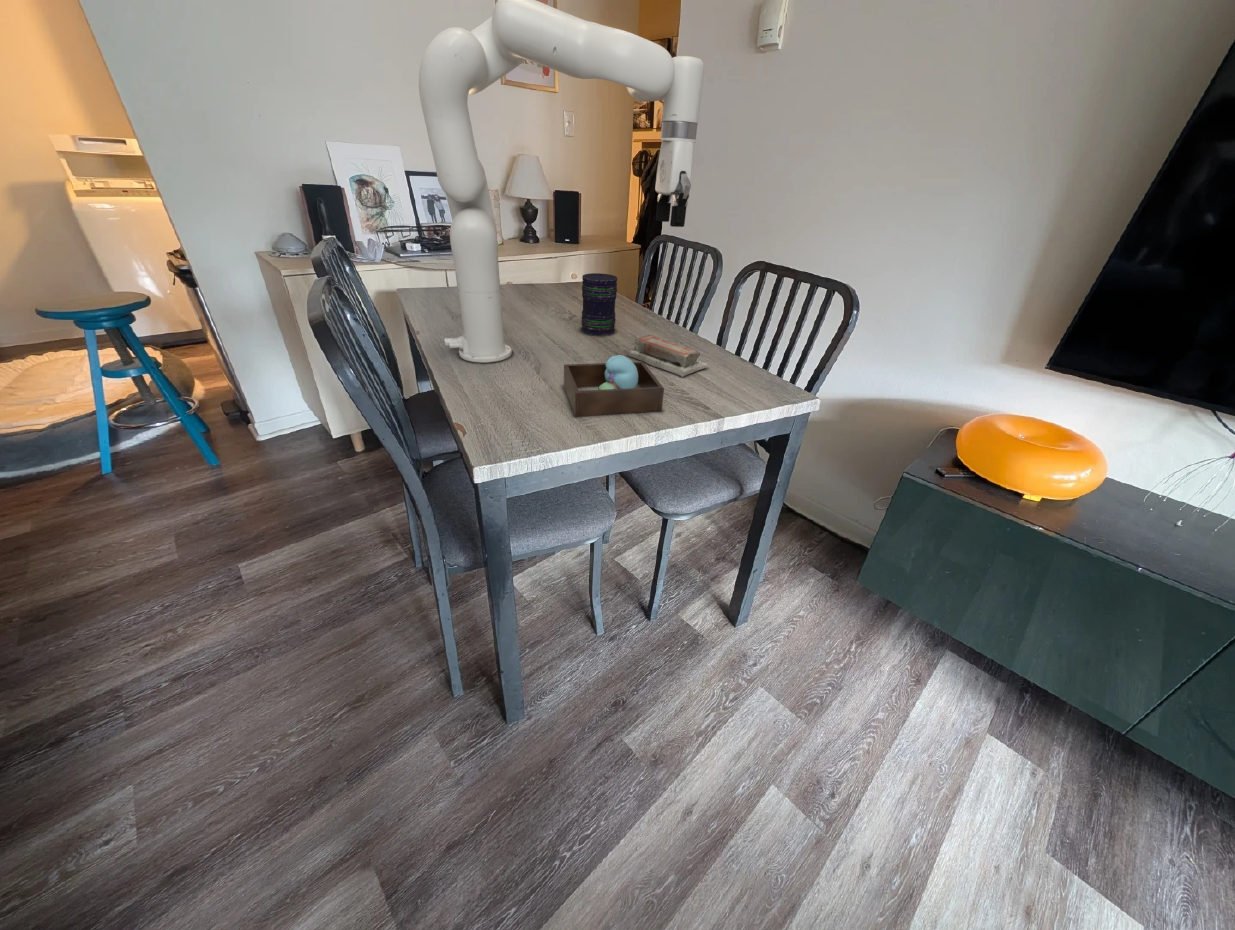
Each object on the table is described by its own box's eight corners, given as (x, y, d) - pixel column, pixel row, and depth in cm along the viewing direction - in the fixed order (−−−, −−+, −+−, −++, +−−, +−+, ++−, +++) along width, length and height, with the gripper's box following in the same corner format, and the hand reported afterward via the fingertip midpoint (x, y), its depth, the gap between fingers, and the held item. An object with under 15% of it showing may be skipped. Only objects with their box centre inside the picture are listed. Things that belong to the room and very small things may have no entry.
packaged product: (628, 338, 118) (654, 331, 124) (627, 356, 121) (653, 349, 127) (685, 358, 108) (710, 349, 114) (682, 378, 110) (707, 368, 117)
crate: (575, 416, 91) (575, 392, 88) (563, 386, 103) (563, 364, 100) (661, 411, 95) (664, 388, 92) (641, 382, 107) (643, 361, 104)
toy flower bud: (576, 361, 93) (621, 346, 99) (578, 401, 98) (621, 384, 105) (599, 373, 89) (645, 356, 95) (600, 414, 94) (644, 395, 100)
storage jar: (614, 337, 134) (617, 281, 126) (579, 335, 134) (580, 279, 125) (615, 326, 142) (617, 274, 134) (582, 324, 142) (583, 272, 134)
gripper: (649, 133, 106) (642, 219, 115) (676, 130, 92) (666, 228, 101) (680, 136, 108) (671, 220, 117) (711, 133, 94) (699, 229, 103)
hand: (669, 223), depth 109 cm, fingers open, 9 cm apart
